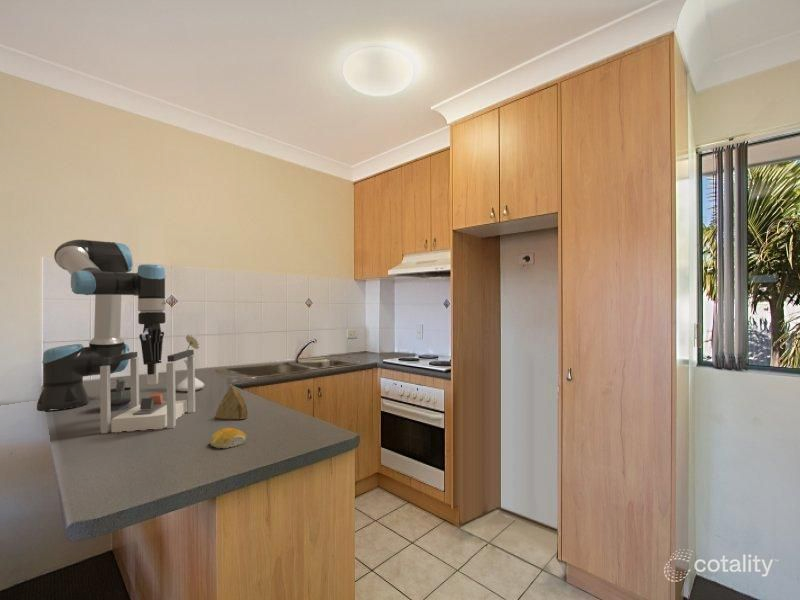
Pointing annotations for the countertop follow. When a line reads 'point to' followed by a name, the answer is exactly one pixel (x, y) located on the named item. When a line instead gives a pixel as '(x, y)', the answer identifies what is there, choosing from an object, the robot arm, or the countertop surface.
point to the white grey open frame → (136, 416)
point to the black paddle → (147, 403)
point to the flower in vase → (184, 384)
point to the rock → (232, 406)
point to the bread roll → (227, 438)
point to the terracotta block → (157, 398)
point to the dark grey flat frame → (134, 354)
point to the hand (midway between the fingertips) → (152, 383)
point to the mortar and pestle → (120, 395)
